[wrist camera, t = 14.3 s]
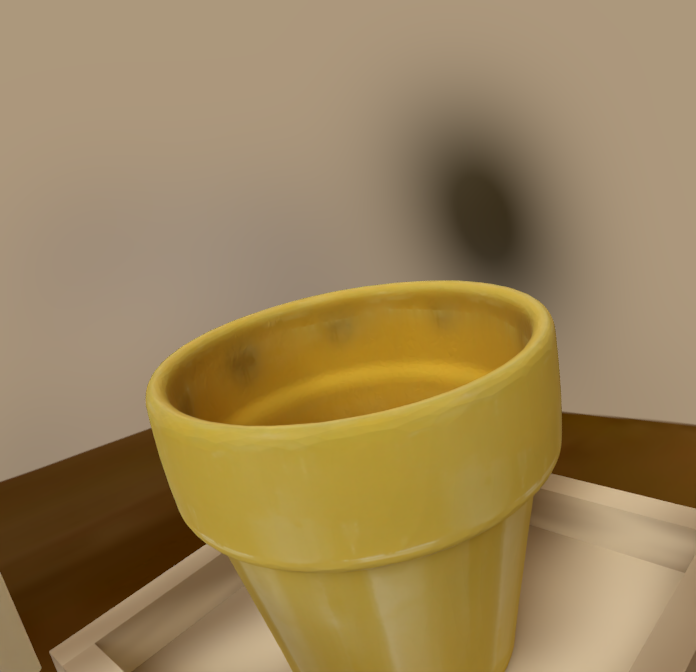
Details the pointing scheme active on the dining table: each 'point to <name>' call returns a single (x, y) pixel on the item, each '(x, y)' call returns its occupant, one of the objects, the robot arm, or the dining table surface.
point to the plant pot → (370, 467)
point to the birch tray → (533, 611)
